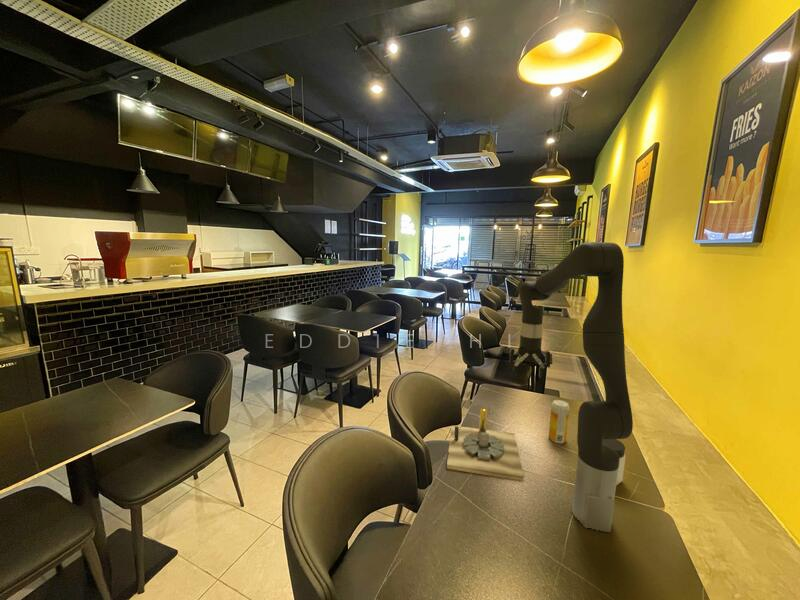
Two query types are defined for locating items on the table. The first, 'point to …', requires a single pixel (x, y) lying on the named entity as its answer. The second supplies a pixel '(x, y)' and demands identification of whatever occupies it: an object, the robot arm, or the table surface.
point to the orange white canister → (559, 421)
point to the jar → (620, 450)
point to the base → (465, 462)
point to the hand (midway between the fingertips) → (528, 375)
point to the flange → (494, 443)
